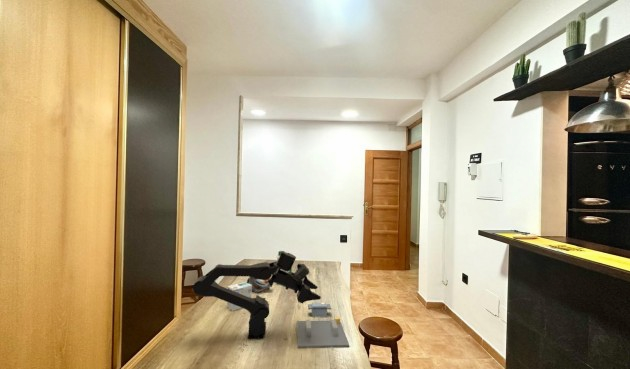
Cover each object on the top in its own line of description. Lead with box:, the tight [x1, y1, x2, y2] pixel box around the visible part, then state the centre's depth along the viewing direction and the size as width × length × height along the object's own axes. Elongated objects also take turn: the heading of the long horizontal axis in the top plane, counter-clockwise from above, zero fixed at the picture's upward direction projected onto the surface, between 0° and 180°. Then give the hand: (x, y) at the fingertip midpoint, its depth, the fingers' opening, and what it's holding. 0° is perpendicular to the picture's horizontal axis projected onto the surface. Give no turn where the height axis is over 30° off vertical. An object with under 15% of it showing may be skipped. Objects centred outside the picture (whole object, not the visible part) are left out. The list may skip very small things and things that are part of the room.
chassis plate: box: [296, 316, 350, 349], centre depth 118 cm, size 20×20×4 cm
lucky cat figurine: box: [246, 276, 271, 293], centre depth 166 cm, size 15×12×14 cm
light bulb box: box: [226, 281, 253, 312], centre depth 143 cm, size 11×7×11 cm, turn 134°
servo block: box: [307, 301, 332, 318], centre depth 136 cm, size 11×4×6 cm, turn 95°
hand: (318, 292), depth 121 cm, fingers open, 9 cm apart
